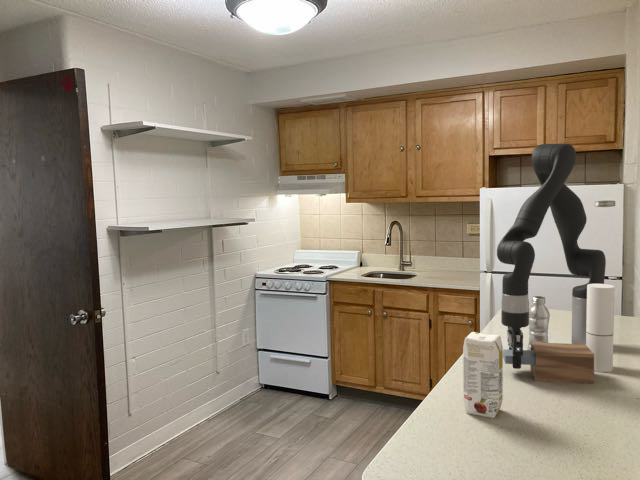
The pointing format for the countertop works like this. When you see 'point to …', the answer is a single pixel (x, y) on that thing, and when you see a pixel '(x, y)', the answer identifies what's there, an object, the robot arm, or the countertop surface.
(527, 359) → the cover plate
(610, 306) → the cylindrical container
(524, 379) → the countertop surface
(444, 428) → the countertop surface
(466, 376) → the juice carton
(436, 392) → the countertop surface
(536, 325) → the plastic bottle
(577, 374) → the brown box
